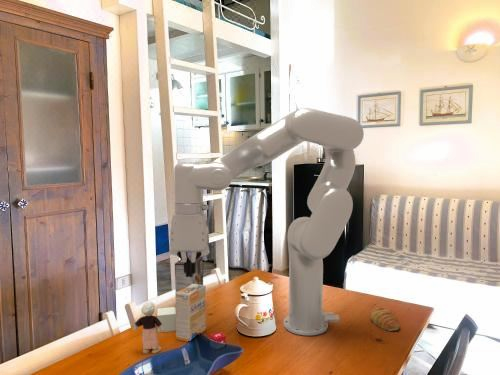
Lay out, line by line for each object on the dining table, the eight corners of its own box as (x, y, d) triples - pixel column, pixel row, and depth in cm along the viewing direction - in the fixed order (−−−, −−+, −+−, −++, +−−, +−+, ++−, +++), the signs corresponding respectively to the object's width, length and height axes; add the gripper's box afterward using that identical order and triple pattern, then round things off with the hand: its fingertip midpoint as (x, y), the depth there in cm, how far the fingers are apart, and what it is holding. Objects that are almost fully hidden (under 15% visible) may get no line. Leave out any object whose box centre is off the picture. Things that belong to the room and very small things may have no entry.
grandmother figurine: (165, 345, 98) (164, 298, 96) (164, 353, 94) (163, 304, 93) (135, 347, 96) (133, 300, 95) (132, 355, 93) (130, 306, 92)
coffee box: (186, 301, 127) (185, 255, 125) (204, 303, 125) (203, 256, 124) (175, 313, 118) (174, 263, 116) (194, 314, 116) (193, 264, 115)
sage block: (175, 323, 111) (175, 306, 110) (175, 330, 106) (175, 313, 106) (158, 325, 110) (157, 308, 109) (157, 332, 105) (157, 315, 104)
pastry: (406, 331, 105) (406, 318, 104) (383, 334, 104) (384, 320, 103) (388, 317, 114) (388, 305, 114) (367, 319, 113) (368, 307, 113)
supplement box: (190, 343, 99) (189, 295, 98) (175, 339, 101) (174, 292, 100) (207, 330, 106) (206, 285, 105) (192, 326, 108) (192, 282, 107)
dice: (215, 350, 95) (215, 339, 95) (209, 345, 98) (209, 334, 97) (225, 346, 97) (225, 335, 97) (219, 342, 99) (219, 331, 99)
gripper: (218, 207, 104) (218, 271, 106) (165, 206, 105) (166, 271, 106) (214, 211, 96) (215, 280, 98) (157, 210, 97) (158, 279, 99)
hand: (189, 275), depth 102 cm, fingers closed
